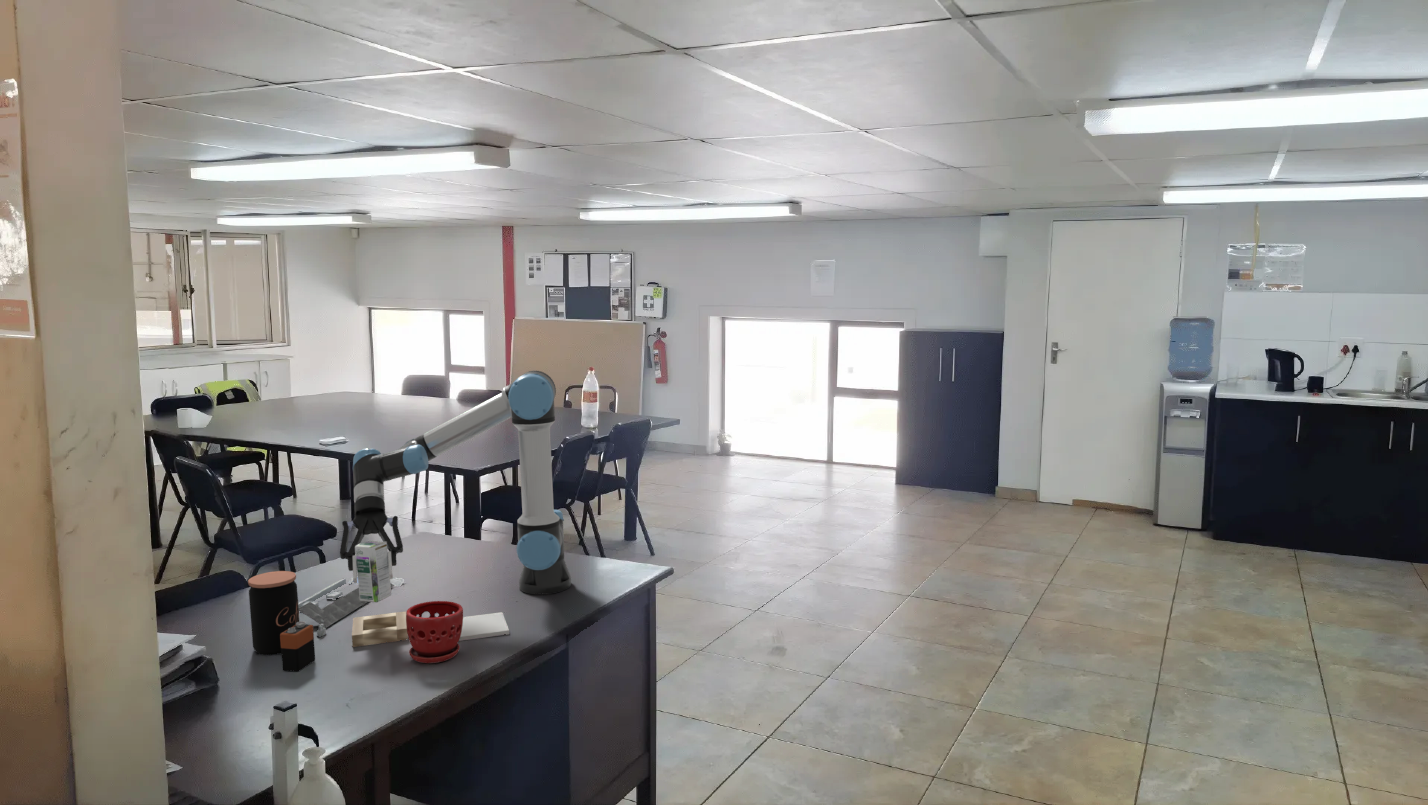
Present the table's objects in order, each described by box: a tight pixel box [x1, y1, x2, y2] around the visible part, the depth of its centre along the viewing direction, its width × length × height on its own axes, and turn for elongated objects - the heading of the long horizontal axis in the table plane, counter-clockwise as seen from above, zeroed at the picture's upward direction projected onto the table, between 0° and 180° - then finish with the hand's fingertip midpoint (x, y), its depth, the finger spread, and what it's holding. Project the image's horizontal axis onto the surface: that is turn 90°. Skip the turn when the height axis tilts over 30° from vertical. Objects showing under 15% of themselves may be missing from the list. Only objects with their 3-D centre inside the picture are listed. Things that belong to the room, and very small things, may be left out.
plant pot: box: [406, 600, 464, 664], centre depth 218 cm, size 13×13×12 cm
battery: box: [280, 620, 316, 673], centre depth 213 cm, size 4×7×10 cm, turn 169°
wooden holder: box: [351, 610, 409, 648], centre depth 232 cm, size 13×13×3 cm
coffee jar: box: [247, 570, 300, 656], centre depth 223 cm, size 11×11×18 cm
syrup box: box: [355, 540, 393, 603], centre depth 231 cm, size 6×6×14 cm
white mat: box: [458, 611, 510, 642], centre depth 236 cm, size 14×14×1 cm
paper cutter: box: [298, 576, 405, 638], centre depth 254 cm, size 18×45×6 cm, turn 170°
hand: (373, 578), depth 227 cm, fingers closed on syrup box, 8 cm apart
